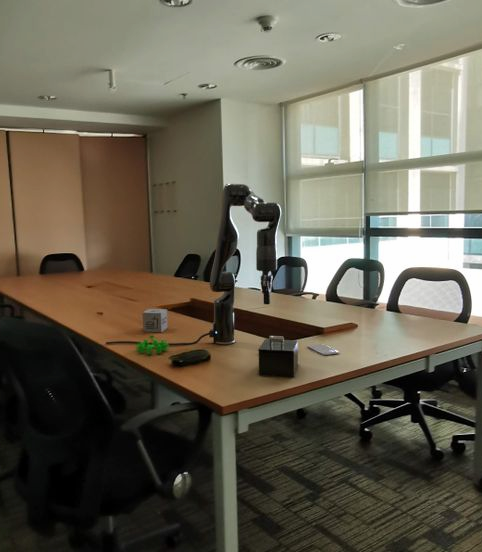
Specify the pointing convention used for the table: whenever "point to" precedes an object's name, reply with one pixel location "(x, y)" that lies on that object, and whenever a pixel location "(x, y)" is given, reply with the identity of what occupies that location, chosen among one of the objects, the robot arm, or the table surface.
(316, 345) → the mobile phone
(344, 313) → the table surface
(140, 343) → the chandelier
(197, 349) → the table surface
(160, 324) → the icon cube
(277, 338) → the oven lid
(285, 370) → the black open box
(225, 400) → the table surface
